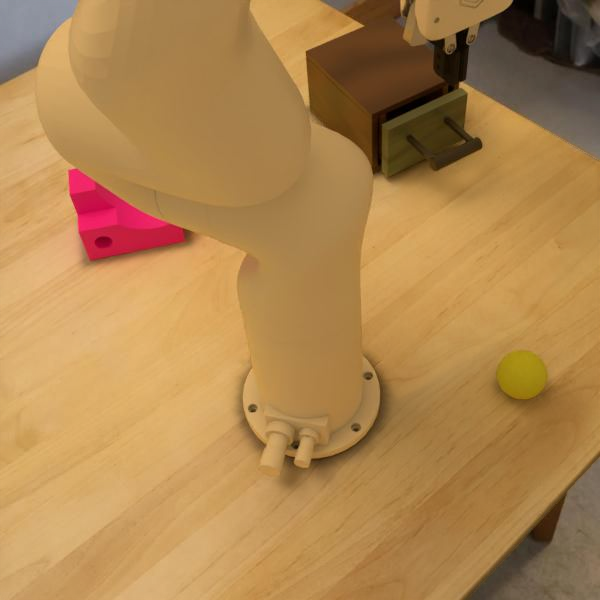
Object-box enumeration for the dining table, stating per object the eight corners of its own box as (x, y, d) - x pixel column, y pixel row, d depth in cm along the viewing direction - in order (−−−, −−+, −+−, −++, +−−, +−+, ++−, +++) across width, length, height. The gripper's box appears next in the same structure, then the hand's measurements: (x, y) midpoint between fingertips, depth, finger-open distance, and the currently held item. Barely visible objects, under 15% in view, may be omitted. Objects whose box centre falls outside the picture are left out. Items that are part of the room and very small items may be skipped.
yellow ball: (541, 412, 76) (549, 386, 73) (491, 403, 77) (496, 377, 74) (545, 371, 79) (552, 344, 75) (496, 364, 80) (502, 336, 76)
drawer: (494, 169, 94) (502, 121, 89) (417, 208, 92) (420, 160, 86) (399, 84, 104) (401, 37, 99) (327, 117, 102) (325, 70, 96)
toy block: (90, 260, 91) (70, 211, 86) (87, 219, 95) (68, 169, 89) (227, 233, 92) (217, 183, 87) (219, 193, 96) (209, 142, 90)
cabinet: (454, 134, 100) (460, 73, 93) (372, 174, 97) (371, 114, 90) (388, 75, 107) (389, 15, 100) (309, 110, 104) (305, 50, 97)
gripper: (415, -56, 66) (409, 126, 81) (565, -117, 70) (533, 67, 84) (362, -95, 70) (365, 85, 85) (506, -151, 74) (485, 30, 89)
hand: (449, 75), depth 85 cm, fingers closed
